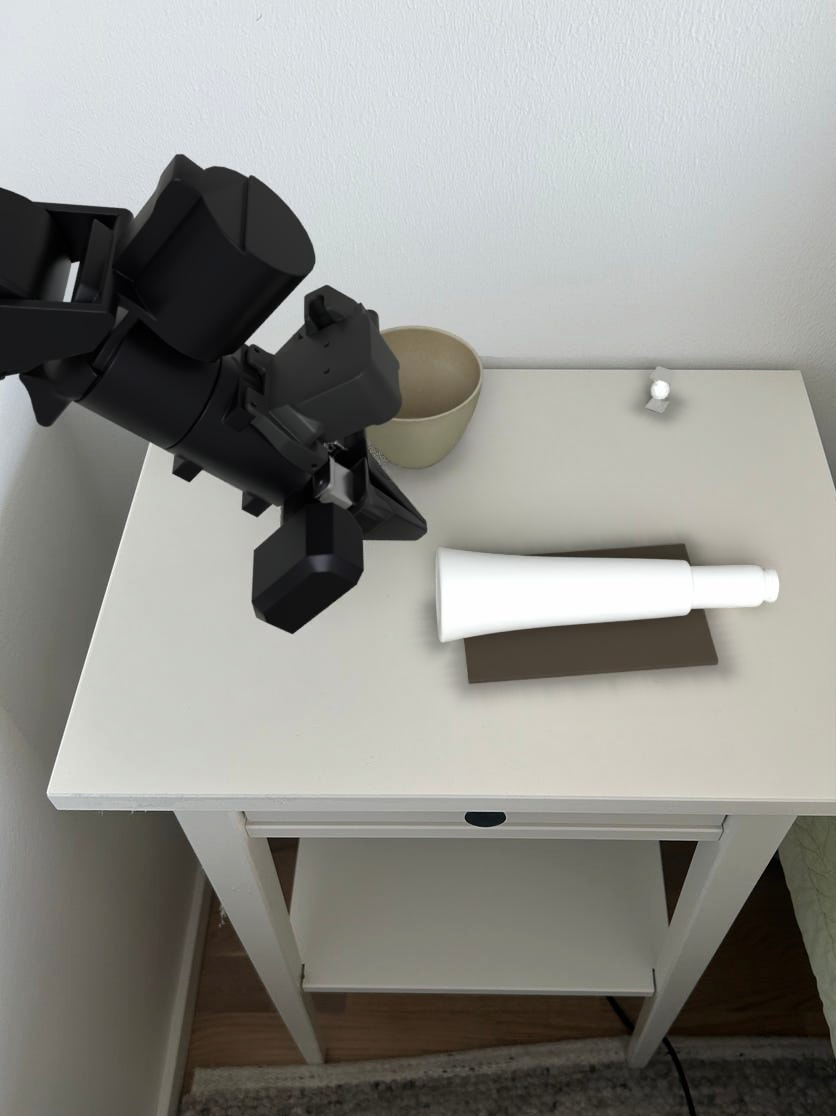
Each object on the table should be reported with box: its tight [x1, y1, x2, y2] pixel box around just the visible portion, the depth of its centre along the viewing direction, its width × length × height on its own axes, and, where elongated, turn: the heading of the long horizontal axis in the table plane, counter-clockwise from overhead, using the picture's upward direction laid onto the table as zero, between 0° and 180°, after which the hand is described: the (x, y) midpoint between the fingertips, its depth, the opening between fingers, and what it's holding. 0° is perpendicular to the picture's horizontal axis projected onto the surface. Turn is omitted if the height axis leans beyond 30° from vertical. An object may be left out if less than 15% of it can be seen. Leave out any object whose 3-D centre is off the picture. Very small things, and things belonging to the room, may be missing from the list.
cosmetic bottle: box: [434, 546, 780, 643], centre depth 65 cm, size 6×6×22 cm
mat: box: [463, 543, 719, 685], centre depth 67 cm, size 16×10×1 cm, turn 96°
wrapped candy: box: [644, 365, 677, 414], centre depth 77 cm, size 2×2×3 cm
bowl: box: [366, 325, 484, 470], centre depth 73 cm, size 10×10×7 cm
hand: (422, 531), depth 59 cm, fingers closed
